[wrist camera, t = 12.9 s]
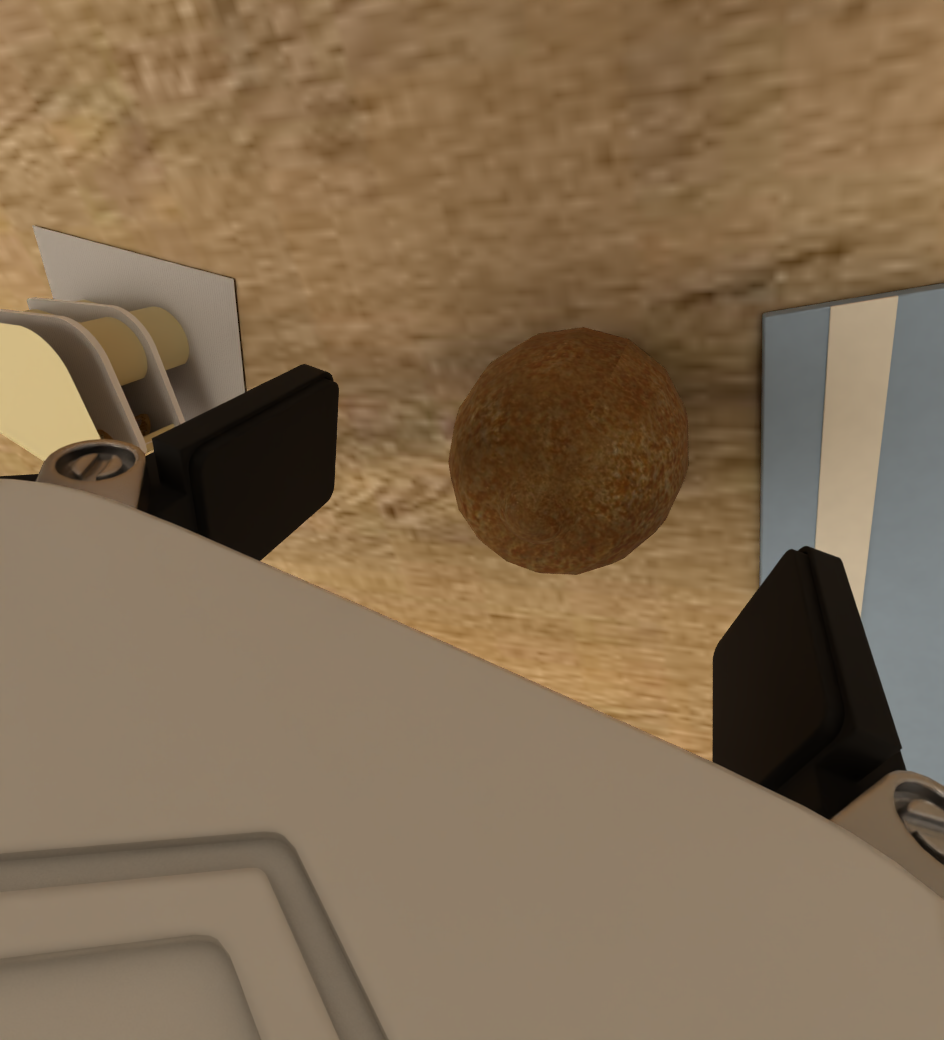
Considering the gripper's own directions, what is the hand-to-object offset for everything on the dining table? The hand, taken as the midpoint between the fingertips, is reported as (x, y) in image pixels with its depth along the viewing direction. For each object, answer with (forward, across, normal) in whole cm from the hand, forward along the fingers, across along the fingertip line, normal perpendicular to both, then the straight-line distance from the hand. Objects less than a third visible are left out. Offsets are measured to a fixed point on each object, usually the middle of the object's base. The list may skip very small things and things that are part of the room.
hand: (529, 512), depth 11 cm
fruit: (+8, 0, +1) cm, 9 cm away
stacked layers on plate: (+8, +19, +5) cm, 21 cm away
